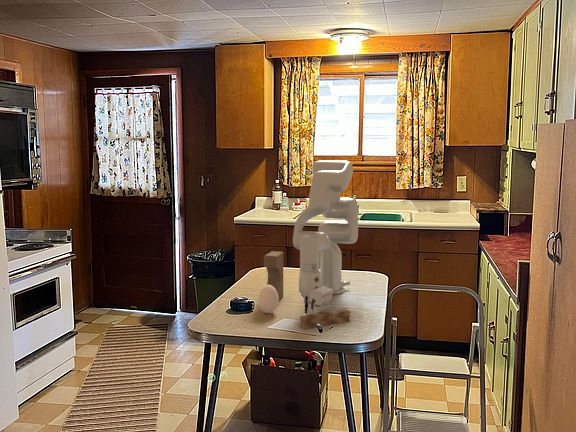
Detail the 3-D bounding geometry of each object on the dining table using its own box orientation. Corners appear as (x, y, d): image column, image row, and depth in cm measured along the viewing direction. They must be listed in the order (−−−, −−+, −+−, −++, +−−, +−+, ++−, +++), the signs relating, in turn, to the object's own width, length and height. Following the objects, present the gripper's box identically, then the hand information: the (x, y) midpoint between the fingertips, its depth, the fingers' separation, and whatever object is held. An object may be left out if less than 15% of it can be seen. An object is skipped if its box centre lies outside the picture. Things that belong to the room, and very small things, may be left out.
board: (345, 318, 231) (345, 308, 230) (349, 320, 228) (349, 310, 228) (300, 326, 221) (300, 316, 220) (304, 329, 218) (304, 318, 218)
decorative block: (276, 303, 251) (275, 256, 248) (263, 302, 253) (262, 255, 250) (284, 297, 262) (284, 251, 259) (271, 295, 263) (271, 250, 261)
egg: (263, 317, 233) (263, 288, 231) (255, 311, 240) (254, 283, 238) (282, 314, 236) (282, 285, 235) (273, 309, 243) (273, 281, 242)
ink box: (317, 312, 235) (323, 284, 232) (328, 317, 232) (334, 289, 229) (304, 317, 228) (311, 289, 225) (315, 323, 225) (321, 294, 222)
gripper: (328, 269, 227) (328, 317, 230) (307, 262, 240) (307, 307, 243) (311, 272, 224) (311, 320, 226) (291, 264, 236) (291, 310, 239)
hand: (309, 313), depth 234 cm, fingers closed
